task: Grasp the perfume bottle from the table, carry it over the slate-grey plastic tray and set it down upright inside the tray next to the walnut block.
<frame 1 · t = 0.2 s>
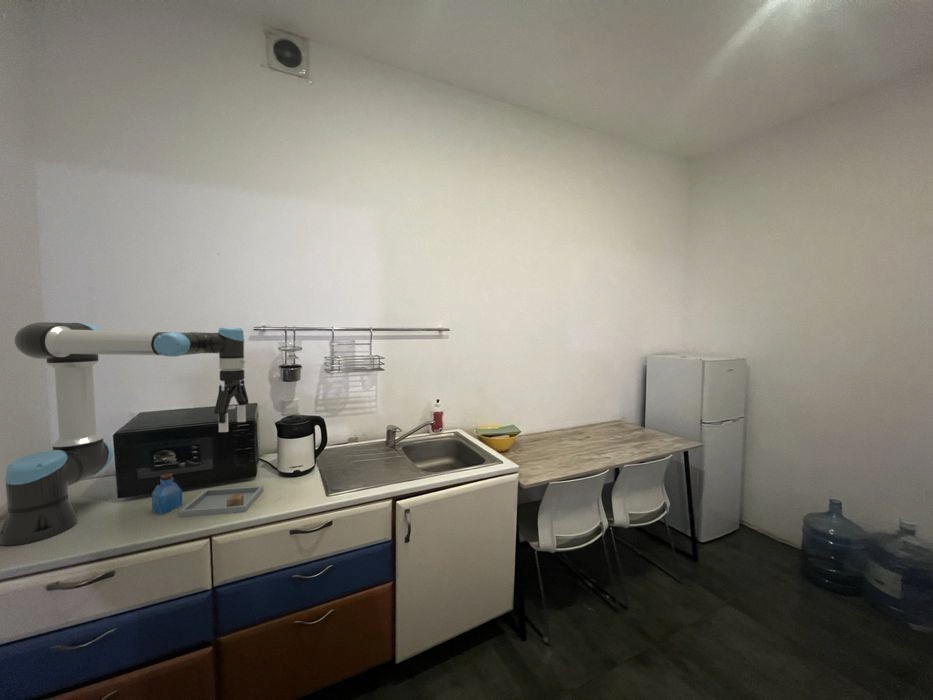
hand: (233, 426, 126), 27 cm above the counter, fingers open, 13 cm apart
perfume bottle: (167, 509, 120), on the counter
walnut block: (235, 507, 120), point 1 cm above the counter, touching tray
tray: (224, 504, 123), on the counter
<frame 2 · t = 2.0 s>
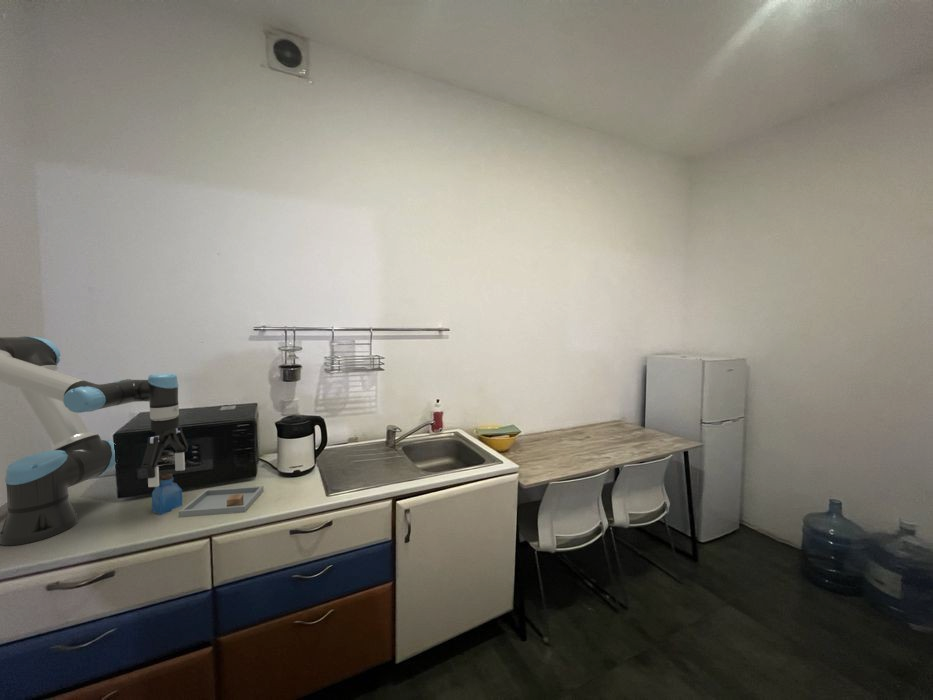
hand: (167, 477, 119), 11 cm above the counter, fingers open, 13 cm apart
nothing on the counter moved.
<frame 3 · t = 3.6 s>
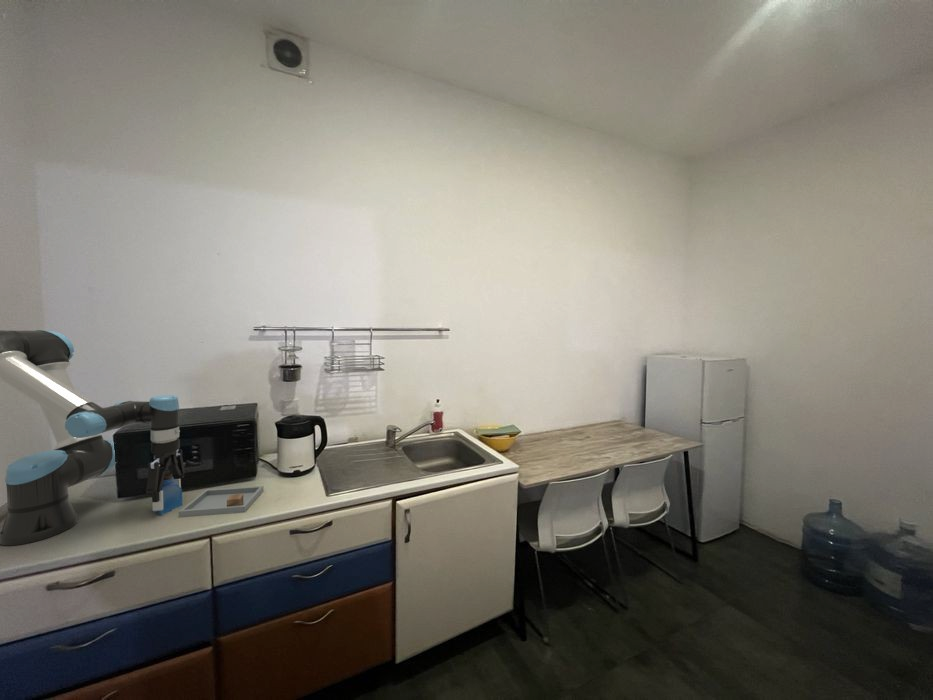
hand: (167, 503, 119), 2 cm above the counter, fingers closed on perfume bottle, 9 cm apart
perfume bottle: (167, 509, 120), on the counter, touching gripper
everything else where it was.
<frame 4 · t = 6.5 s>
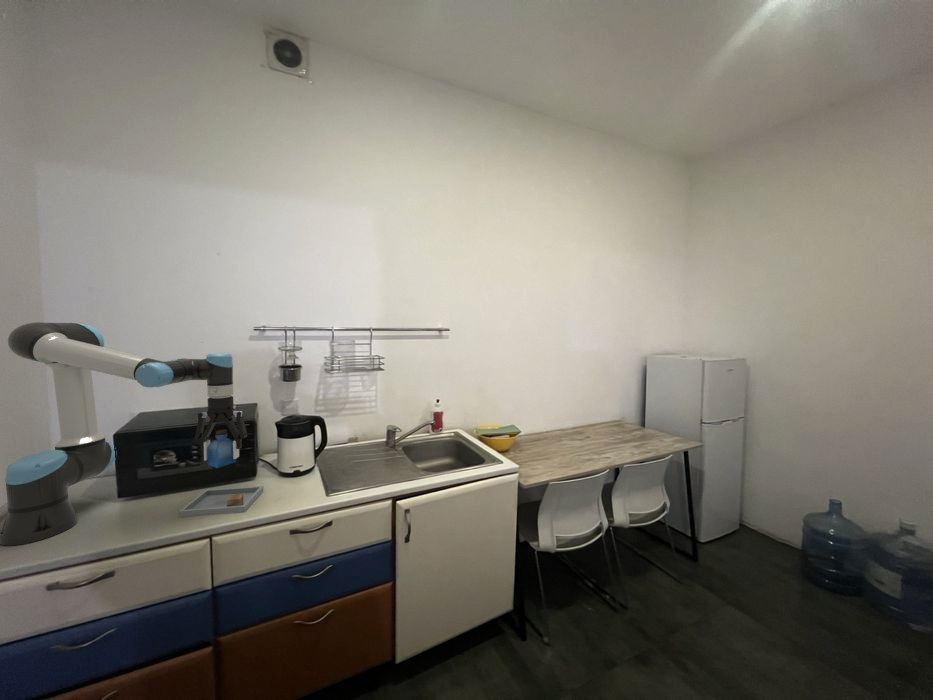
hand: (221, 458, 123), 17 cm above the counter, fingers closed on perfume bottle, 9 cm apart
perfume bottle: (222, 463, 123), point 15 cm above the counter, touching gripper
everything else where it was.
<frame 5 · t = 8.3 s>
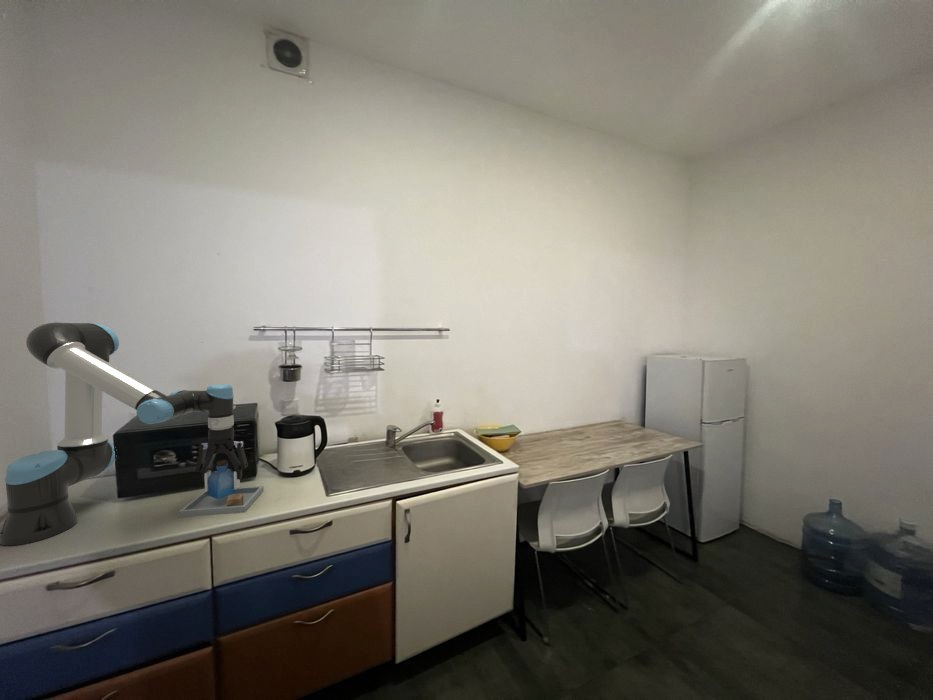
hand: (222, 488, 123), 5 cm above the counter, fingers closed on perfume bottle, 9 cm apart
perfume bottle: (222, 494, 124), point 3 cm above the counter, touching gripper
everything else where it was.
when the fingers open (4 cm above the counter, at t = 9.6 s): perfume bottle drops 1 cm, resting on tray.
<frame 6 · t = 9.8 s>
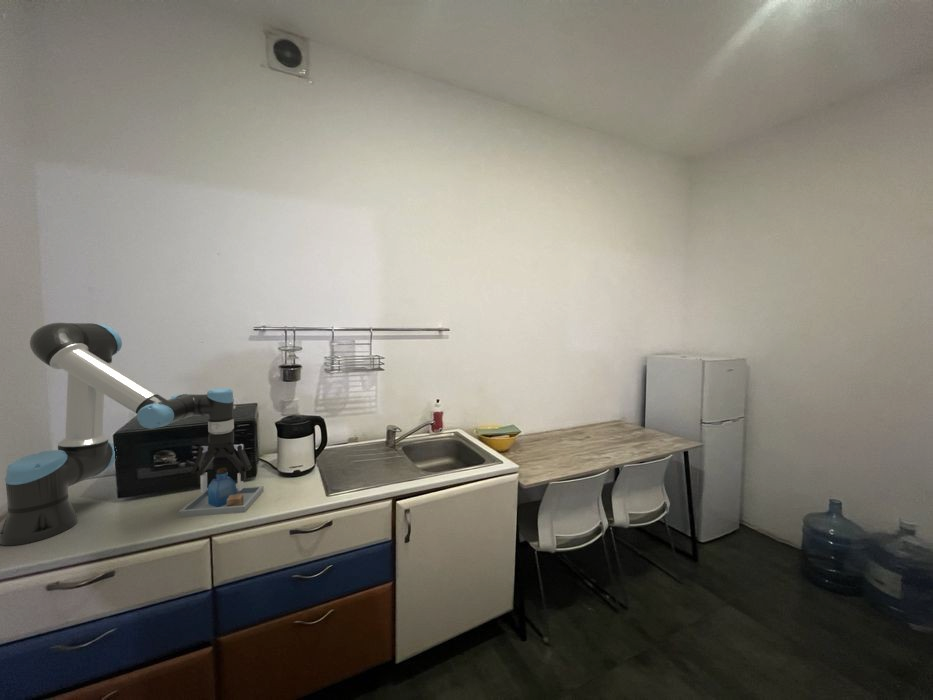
hand: (222, 490, 124), 5 cm above the counter, fingers open, 11 cm apart
perfume bottle: (222, 502, 124), resting on tray
everything else where it was.
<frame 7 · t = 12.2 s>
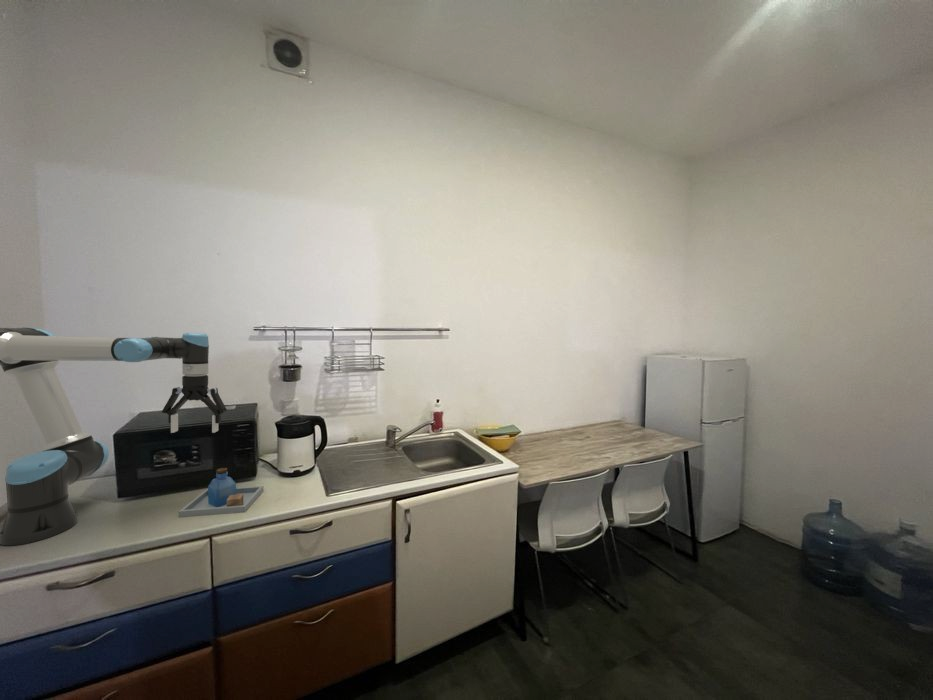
hand: (195, 431, 126), 25 cm above the counter, fingers open, 13 cm apart
nothing on the counter moved.
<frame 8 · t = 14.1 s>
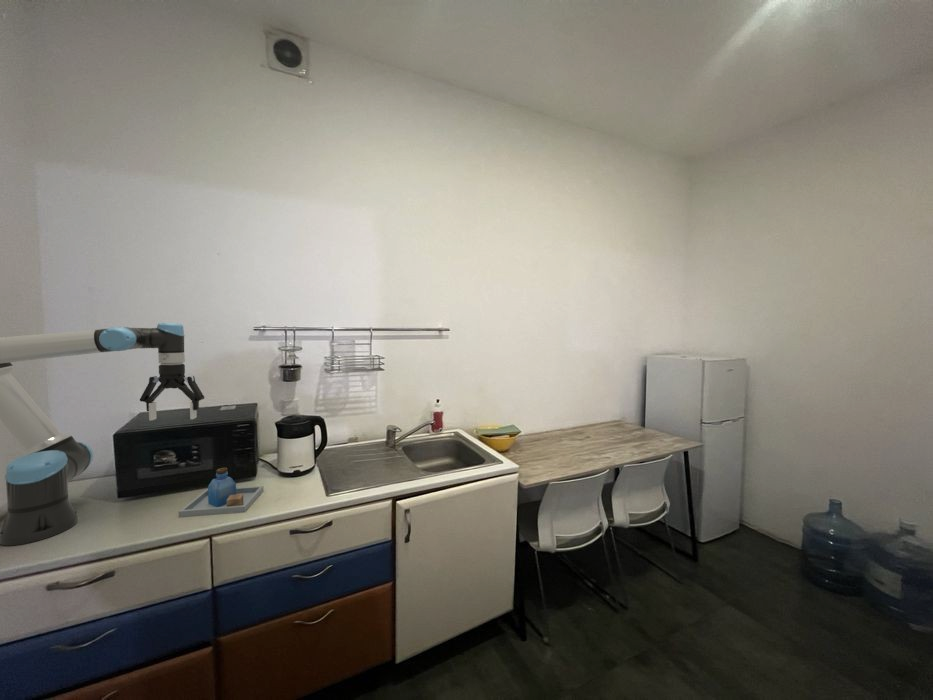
hand: (173, 419, 130), 29 cm above the counter, fingers open, 13 cm apart
nothing on the counter moved.
at the end: perfume bottle inside the target area on the tray (1.5 cm from its centre), point 0.4 cm above the tray's base; perfume bottle tilted 0°; the gripper is holding nothing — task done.
